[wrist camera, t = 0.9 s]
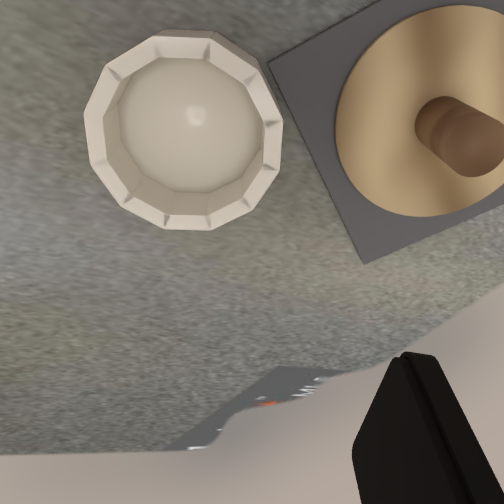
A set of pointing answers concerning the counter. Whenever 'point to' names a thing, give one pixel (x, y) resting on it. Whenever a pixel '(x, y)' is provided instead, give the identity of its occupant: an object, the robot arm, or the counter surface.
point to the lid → (426, 112)
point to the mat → (323, 119)
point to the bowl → (185, 130)
